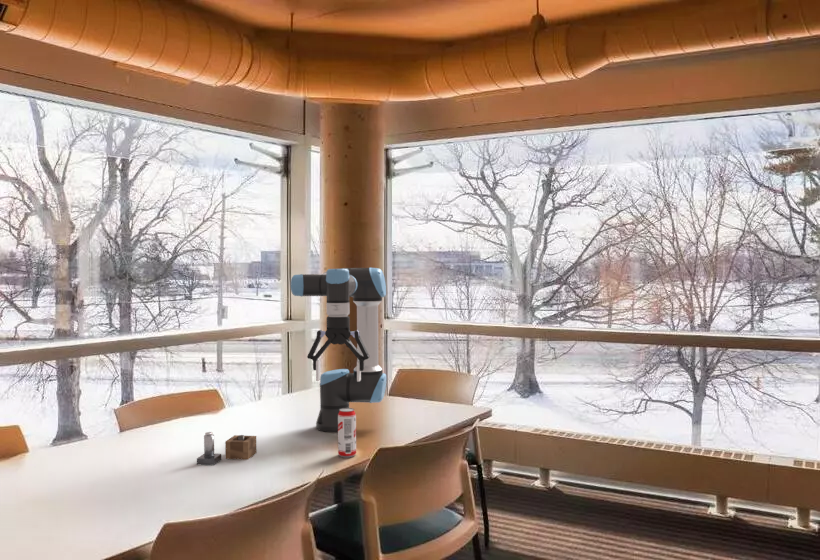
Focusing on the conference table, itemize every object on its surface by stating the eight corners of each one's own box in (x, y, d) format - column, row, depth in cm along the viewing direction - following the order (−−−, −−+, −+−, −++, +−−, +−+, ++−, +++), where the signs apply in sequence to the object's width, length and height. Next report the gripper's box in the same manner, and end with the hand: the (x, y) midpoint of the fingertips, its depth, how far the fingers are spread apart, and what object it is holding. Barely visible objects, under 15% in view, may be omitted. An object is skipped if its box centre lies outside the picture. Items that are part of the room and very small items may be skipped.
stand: (238, 454, 228) (238, 434, 228) (248, 454, 227) (248, 434, 227) (234, 457, 224) (234, 436, 224) (244, 457, 224) (244, 437, 224)
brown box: (234, 452, 230) (234, 435, 230) (256, 452, 229) (256, 435, 229) (225, 458, 222) (225, 441, 222) (248, 459, 221) (247, 442, 221)
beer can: (339, 458, 222) (339, 412, 221) (336, 453, 228) (336, 408, 227) (357, 457, 223) (357, 410, 223) (354, 452, 229) (354, 407, 229)
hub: (204, 459, 222) (204, 430, 222) (221, 459, 221) (221, 430, 221) (196, 464, 216) (196, 435, 216) (214, 465, 215) (213, 435, 215)
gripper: (297, 316, 211) (298, 381, 211) (373, 316, 208) (374, 383, 208) (304, 314, 218) (304, 377, 219) (377, 315, 215) (378, 379, 216)
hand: (338, 380), depth 214 cm, fingers open, 13 cm apart
